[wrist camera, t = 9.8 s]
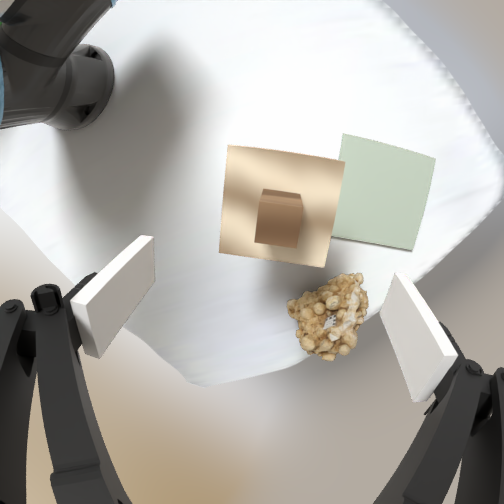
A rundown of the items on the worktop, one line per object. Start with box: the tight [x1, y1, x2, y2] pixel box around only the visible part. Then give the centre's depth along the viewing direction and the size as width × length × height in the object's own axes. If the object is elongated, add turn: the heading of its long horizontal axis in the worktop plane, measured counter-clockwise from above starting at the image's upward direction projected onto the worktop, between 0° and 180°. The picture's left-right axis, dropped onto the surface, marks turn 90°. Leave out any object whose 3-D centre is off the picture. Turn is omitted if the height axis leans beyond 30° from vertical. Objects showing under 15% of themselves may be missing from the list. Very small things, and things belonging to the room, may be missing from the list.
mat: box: [331, 134, 436, 250], centre depth 39 cm, size 15×15×1 cm
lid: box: [219, 145, 345, 268], centre depth 26 cm, size 11×11×6 cm
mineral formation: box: [287, 273, 368, 361], centre depth 40 cm, size 8×13×15 cm, turn 135°
